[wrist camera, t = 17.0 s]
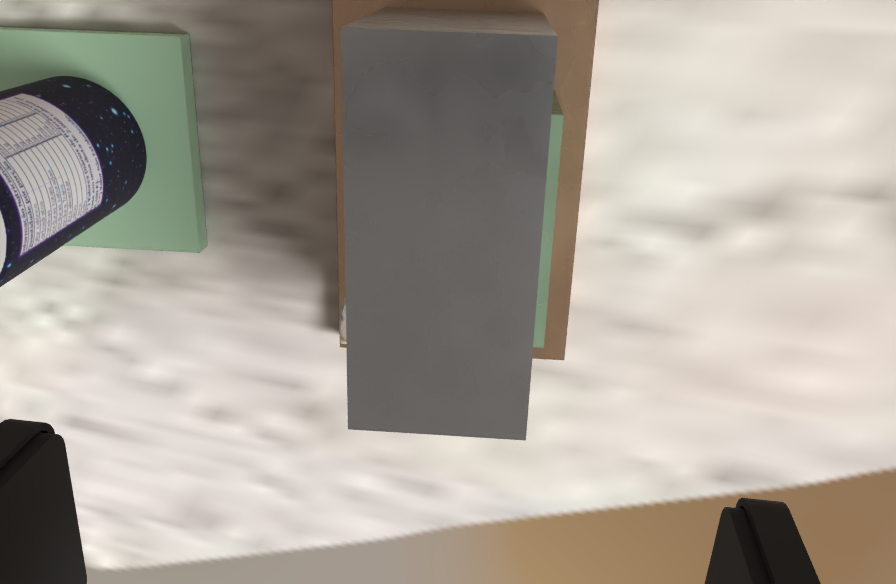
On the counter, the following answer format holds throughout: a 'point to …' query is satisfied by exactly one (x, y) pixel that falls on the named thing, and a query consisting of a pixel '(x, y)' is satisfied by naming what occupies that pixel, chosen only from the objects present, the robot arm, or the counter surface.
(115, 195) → the beverage can
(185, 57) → the sage mat
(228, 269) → the counter surface
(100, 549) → the counter surface
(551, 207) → the mounted unit
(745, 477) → the counter surface
